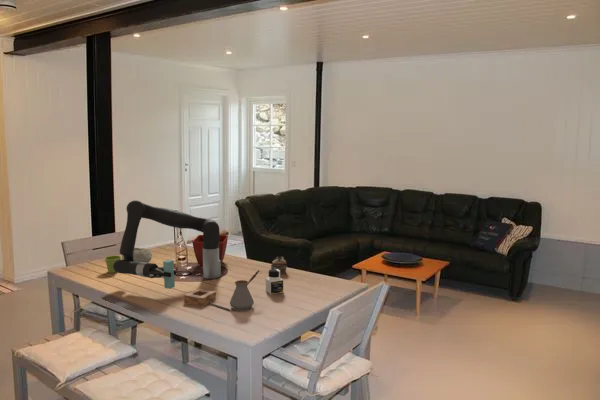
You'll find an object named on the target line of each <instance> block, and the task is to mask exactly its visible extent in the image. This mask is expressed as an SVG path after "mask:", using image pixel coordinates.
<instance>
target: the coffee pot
mask: <svg viewBox="0 0 600 400" xmlns="http://www.w3.org/2000/svg"><path fill="white" fill-rule="evenodd" d="M258 274H262V271H261V270H260V269H258V270H257V271H256V272H255V273H254V274H253V275H252V277H251V278H250V279H249V280H244V279H243V280H236V281H234V284H235V289H234V291H233V294H232V296H231V298H230V301H229V305H230V307H231V308H232V309H234V311H240V312H242V311H245V312H246V311H249V310H250V308H252V306H253V305H254V303H255V302H254V298H253V297H252V295H251V292H250V289H249V288H248V285H249V284H250V283H251V282H252V281H253V280H254V279H255V278H256V276H257V275H258Z"/></svg>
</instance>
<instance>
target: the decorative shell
mask: <svg viewBox="0 0 600 400" xmlns="http://www.w3.org/2000/svg"><path fill="white" fill-rule="evenodd" d="M152 258H153V253H152V252H151V250H149V249H147V248H143V247H141V248H140V247H134V251H133V259H134V262H146V263H150V261H151V260H152ZM121 260H124V256H123V255H121Z"/></svg>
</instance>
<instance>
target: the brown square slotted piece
mask: <svg viewBox="0 0 600 400" xmlns="http://www.w3.org/2000/svg"><path fill="white" fill-rule="evenodd" d="M216 297H217V295H216V291H214V290H209V289H204V288H203V289H202V288H195V289H194V290H191V291H190V292H188V293H185V294H183V303H184V304H188V305H194V306H199V307H204V306H206V305H209V302H210V303H213V301H215V300H216Z"/></svg>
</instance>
